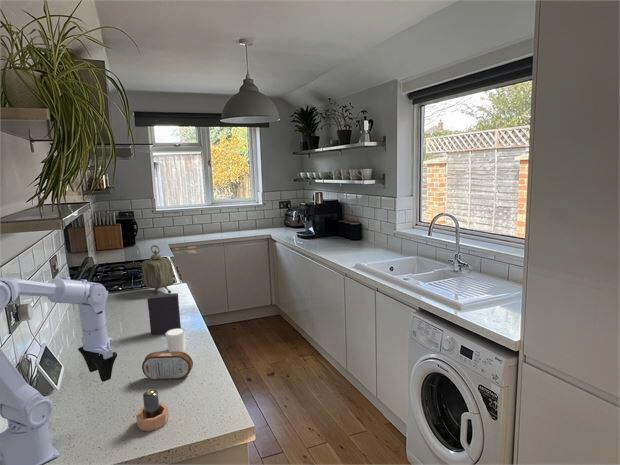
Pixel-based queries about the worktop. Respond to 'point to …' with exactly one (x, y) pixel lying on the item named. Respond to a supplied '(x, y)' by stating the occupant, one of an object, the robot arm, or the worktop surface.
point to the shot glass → (176, 339)
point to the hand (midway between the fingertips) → (100, 375)
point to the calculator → (163, 313)
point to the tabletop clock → (157, 272)
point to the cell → (151, 404)
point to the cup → (152, 419)
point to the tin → (167, 365)
